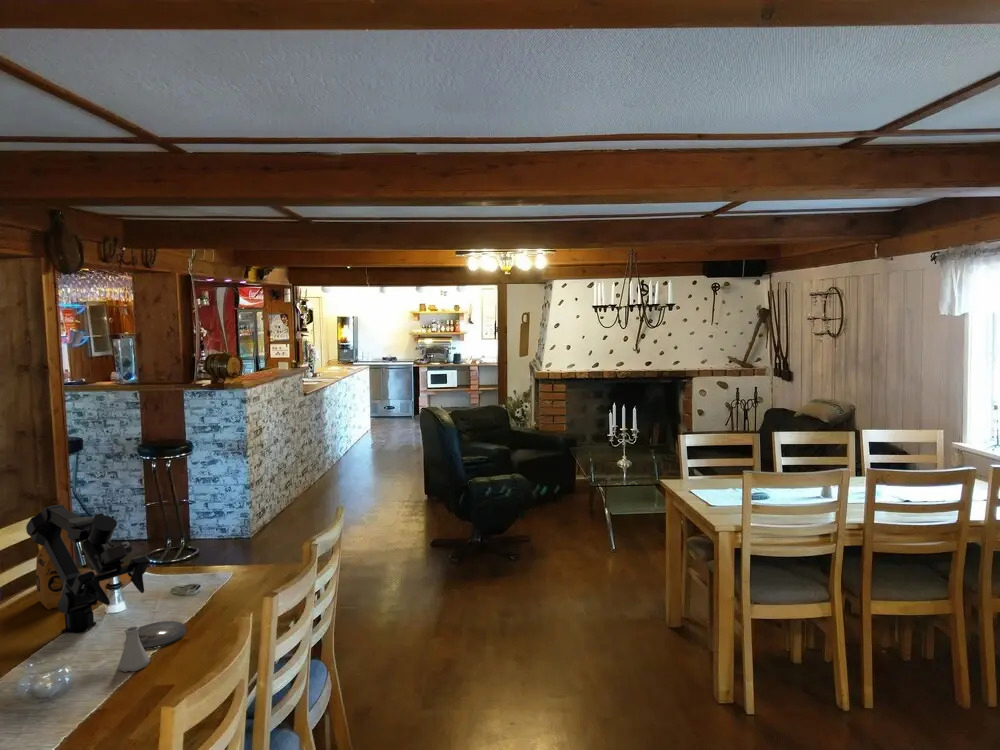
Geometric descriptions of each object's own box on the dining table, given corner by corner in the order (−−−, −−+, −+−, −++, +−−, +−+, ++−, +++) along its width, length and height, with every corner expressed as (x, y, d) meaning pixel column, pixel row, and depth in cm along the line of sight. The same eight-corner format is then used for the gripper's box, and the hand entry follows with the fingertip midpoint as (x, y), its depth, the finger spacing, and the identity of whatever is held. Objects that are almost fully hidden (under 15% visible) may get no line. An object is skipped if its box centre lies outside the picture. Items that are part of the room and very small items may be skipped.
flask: (136, 674, 173) (134, 636, 173) (111, 671, 175) (109, 633, 174) (155, 660, 181) (153, 623, 180) (131, 658, 182) (129, 621, 181)
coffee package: (39, 612, 211) (35, 543, 209) (36, 600, 221) (31, 533, 219) (77, 604, 217) (73, 536, 215) (72, 592, 227) (68, 527, 225)
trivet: (114, 648, 187) (114, 643, 187) (148, 624, 202) (148, 619, 202) (166, 650, 186) (165, 645, 186) (196, 625, 201) (196, 621, 201)
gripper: (71, 545, 179) (98, 590, 173) (141, 526, 194) (168, 567, 188) (61, 573, 183) (86, 618, 177) (130, 553, 199) (156, 593, 193)
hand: (126, 597), depth 184 cm, fingers open, 9 cm apart
